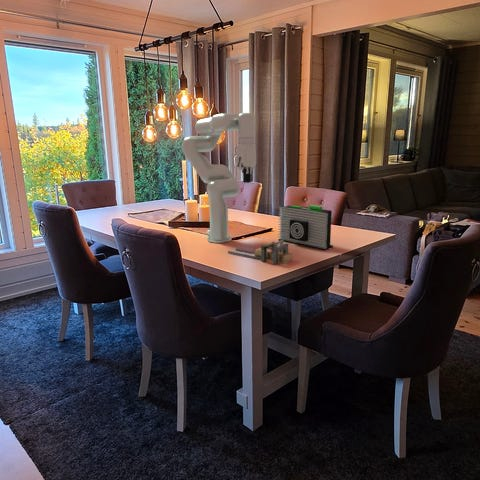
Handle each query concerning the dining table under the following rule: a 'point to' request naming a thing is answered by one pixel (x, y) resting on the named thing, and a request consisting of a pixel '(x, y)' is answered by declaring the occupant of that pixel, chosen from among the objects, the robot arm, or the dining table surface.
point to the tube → (282, 256)
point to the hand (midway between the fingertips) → (246, 182)
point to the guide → (244, 254)
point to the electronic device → (306, 226)
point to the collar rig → (275, 250)
